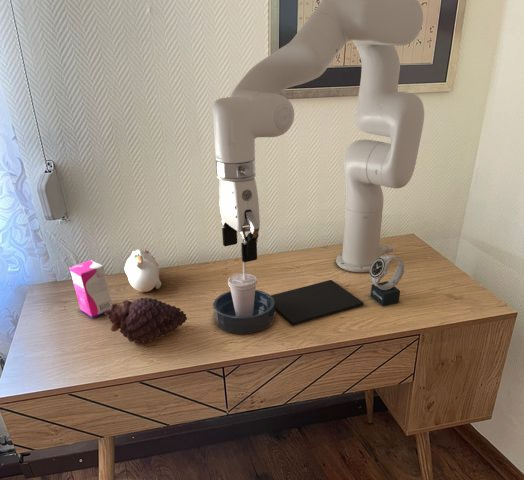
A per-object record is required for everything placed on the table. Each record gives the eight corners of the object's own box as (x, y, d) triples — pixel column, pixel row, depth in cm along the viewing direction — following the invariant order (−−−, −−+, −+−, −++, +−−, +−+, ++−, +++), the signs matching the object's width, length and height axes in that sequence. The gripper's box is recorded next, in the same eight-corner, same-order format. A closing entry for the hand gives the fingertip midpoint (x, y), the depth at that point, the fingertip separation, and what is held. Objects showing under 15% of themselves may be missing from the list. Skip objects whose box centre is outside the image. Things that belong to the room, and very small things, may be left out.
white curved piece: (147, 262, 124) (137, 234, 135) (120, 282, 125) (112, 252, 136) (171, 287, 131) (159, 258, 142) (145, 306, 132) (136, 276, 143)
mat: (330, 282, 134) (331, 279, 133) (363, 305, 123) (363, 302, 123) (264, 300, 127) (264, 297, 126) (292, 326, 116) (292, 322, 116)
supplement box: (101, 302, 128) (91, 258, 122) (114, 310, 125) (104, 265, 118) (79, 310, 125) (68, 266, 119) (92, 319, 121) (81, 274, 115)
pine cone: (176, 314, 122) (189, 288, 115) (185, 350, 118) (199, 326, 110) (98, 314, 114) (106, 286, 106) (105, 353, 109) (114, 327, 102)
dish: (258, 299, 127) (257, 284, 125) (285, 324, 117) (285, 308, 114) (205, 313, 122) (204, 297, 120) (229, 341, 112) (227, 324, 110)
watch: (363, 297, 126) (367, 255, 120) (392, 291, 129) (397, 249, 122) (375, 308, 122) (380, 264, 116) (405, 301, 124) (411, 257, 118)
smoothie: (255, 326, 116) (252, 267, 108) (227, 324, 117) (222, 266, 110) (261, 312, 121) (259, 255, 114) (234, 310, 122) (230, 254, 115)
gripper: (273, 176, 96) (274, 263, 105) (235, 157, 109) (238, 236, 118) (236, 182, 93) (240, 271, 102) (201, 161, 106) (207, 242, 115)
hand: (239, 252), depth 110 cm, fingers open, 9 cm apart
